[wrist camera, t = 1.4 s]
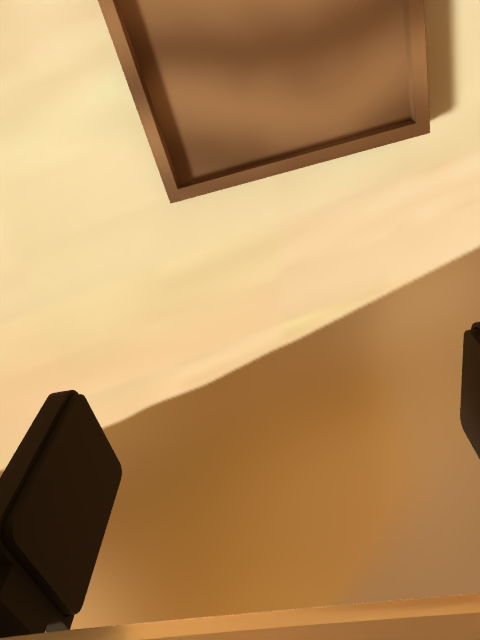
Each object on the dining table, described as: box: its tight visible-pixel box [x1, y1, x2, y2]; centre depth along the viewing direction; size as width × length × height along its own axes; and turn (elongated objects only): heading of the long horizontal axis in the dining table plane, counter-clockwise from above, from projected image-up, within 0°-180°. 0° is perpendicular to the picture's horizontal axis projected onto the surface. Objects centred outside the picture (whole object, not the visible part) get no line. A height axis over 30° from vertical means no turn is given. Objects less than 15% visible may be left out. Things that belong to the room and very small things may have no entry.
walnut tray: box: [98, 0, 430, 203], centre depth 27 cm, size 16×18×2 cm
